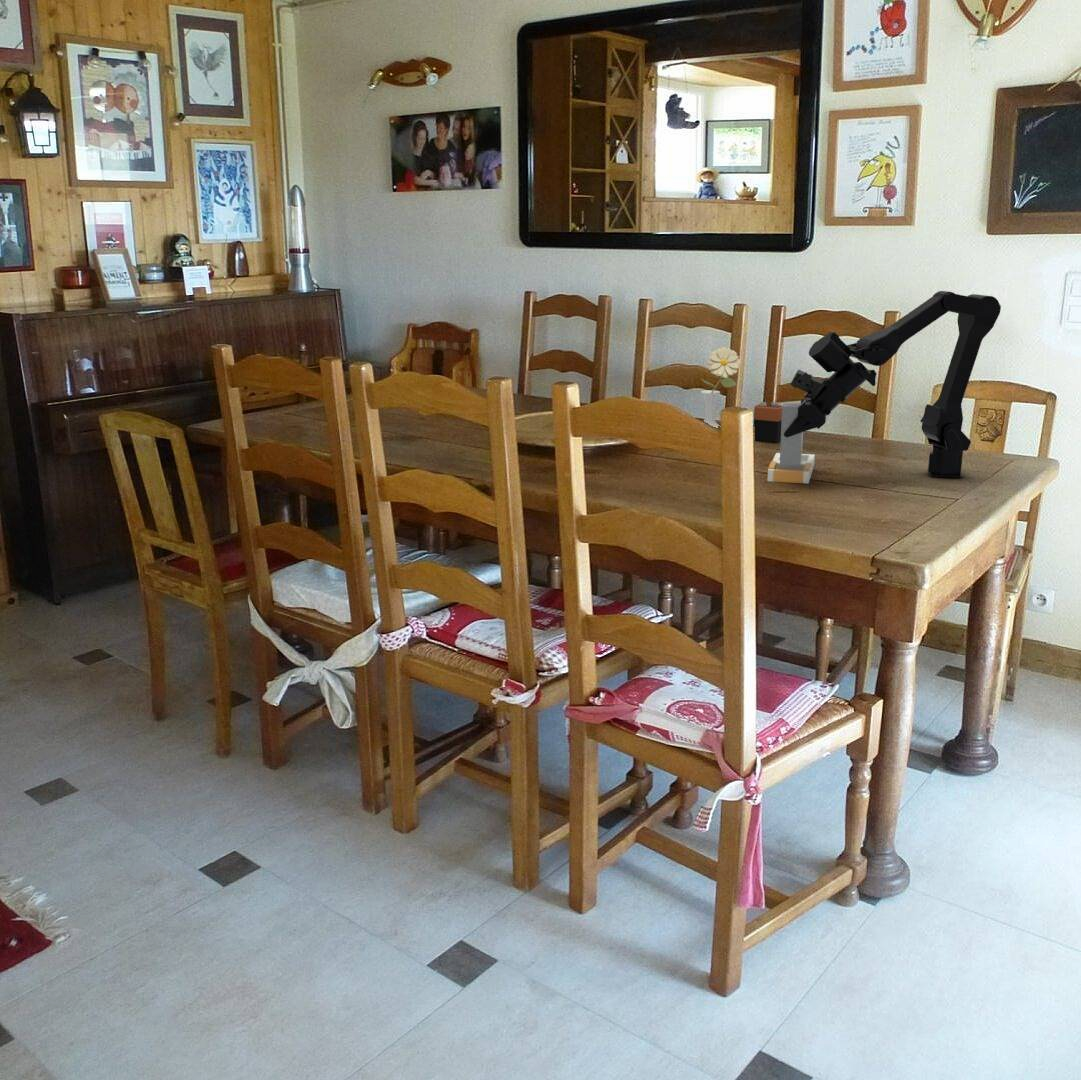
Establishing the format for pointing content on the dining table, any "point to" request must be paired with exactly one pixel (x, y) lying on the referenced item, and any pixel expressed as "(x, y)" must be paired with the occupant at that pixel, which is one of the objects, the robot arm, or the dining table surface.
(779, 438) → the battery
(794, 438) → the metal peg
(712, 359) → the flower in vase
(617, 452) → the dining table surface
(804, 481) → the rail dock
